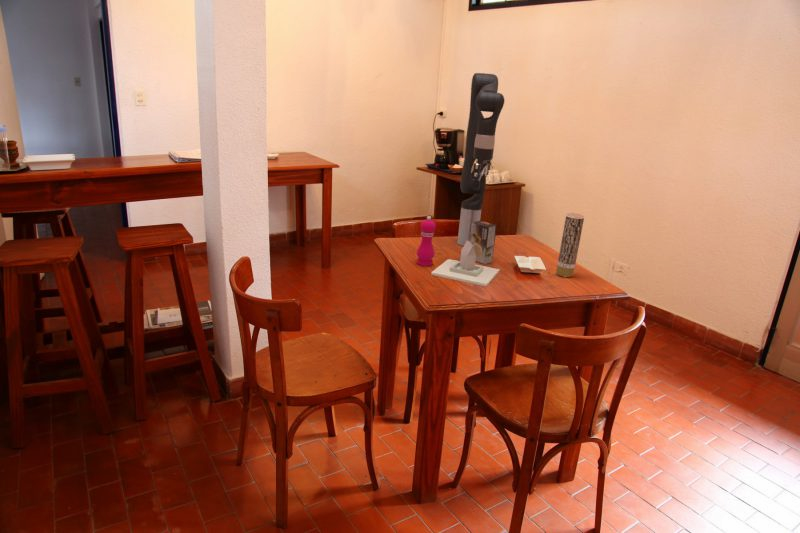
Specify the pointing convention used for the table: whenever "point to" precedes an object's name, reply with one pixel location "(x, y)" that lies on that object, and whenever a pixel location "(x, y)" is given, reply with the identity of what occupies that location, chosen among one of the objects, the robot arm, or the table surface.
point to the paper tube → (570, 244)
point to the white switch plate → (466, 273)
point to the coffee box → (483, 240)
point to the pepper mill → (426, 243)
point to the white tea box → (468, 256)
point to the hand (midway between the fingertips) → (478, 188)
